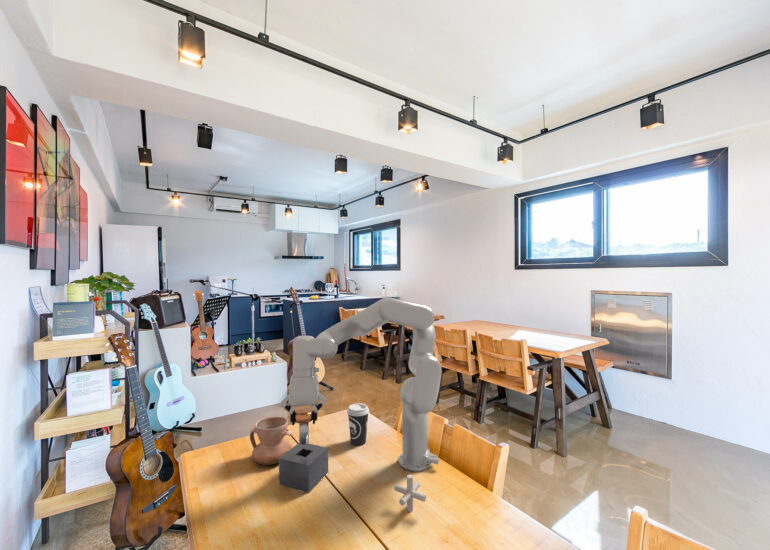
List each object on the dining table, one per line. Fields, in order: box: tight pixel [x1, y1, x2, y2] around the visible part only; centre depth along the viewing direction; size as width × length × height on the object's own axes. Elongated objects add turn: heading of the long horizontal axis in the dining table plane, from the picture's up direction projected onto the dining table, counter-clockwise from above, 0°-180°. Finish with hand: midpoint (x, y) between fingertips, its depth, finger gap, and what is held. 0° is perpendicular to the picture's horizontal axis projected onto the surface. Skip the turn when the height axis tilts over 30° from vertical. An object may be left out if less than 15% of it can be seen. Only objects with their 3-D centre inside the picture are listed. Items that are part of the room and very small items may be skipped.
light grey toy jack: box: [393, 474, 427, 512], centre depth 100 cm, size 10×10×10 cm
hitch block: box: [278, 442, 329, 494], centre depth 116 cm, size 12×12×9 cm
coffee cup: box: [346, 402, 370, 447], centre depth 141 cm, size 10×10×15 cm
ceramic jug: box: [249, 416, 293, 466], centre depth 129 cm, size 18×14×14 cm
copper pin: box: [295, 408, 313, 445], centre depth 116 cm, size 6×6×10 cm
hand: (303, 422), depth 116 cm, fingers closed on copper pin, 6 cm apart
